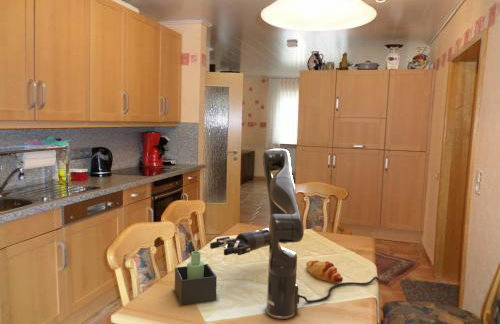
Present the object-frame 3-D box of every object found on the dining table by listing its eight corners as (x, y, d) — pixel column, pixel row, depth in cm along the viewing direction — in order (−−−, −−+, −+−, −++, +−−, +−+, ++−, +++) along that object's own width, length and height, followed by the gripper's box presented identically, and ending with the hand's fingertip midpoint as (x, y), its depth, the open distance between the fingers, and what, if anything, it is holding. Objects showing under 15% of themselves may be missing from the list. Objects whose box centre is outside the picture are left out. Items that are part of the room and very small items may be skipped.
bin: (207, 285, 147) (207, 263, 146) (216, 300, 135) (216, 276, 134) (174, 289, 142) (175, 267, 141) (181, 305, 131) (181, 280, 130)
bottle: (201, 288, 143) (201, 249, 141) (204, 295, 137) (205, 254, 136) (185, 290, 141) (186, 250, 139) (188, 297, 135) (189, 256, 134)
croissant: (301, 275, 167) (295, 261, 165) (317, 261, 172) (311, 247, 169) (336, 294, 149) (330, 278, 147) (353, 278, 154) (347, 262, 151)
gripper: (239, 227, 159) (206, 234, 148) (263, 236, 148) (229, 244, 138) (238, 245, 160) (206, 253, 149) (262, 255, 149) (229, 264, 138)
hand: (217, 249), depth 143 cm, fingers open, 8 cm apart
